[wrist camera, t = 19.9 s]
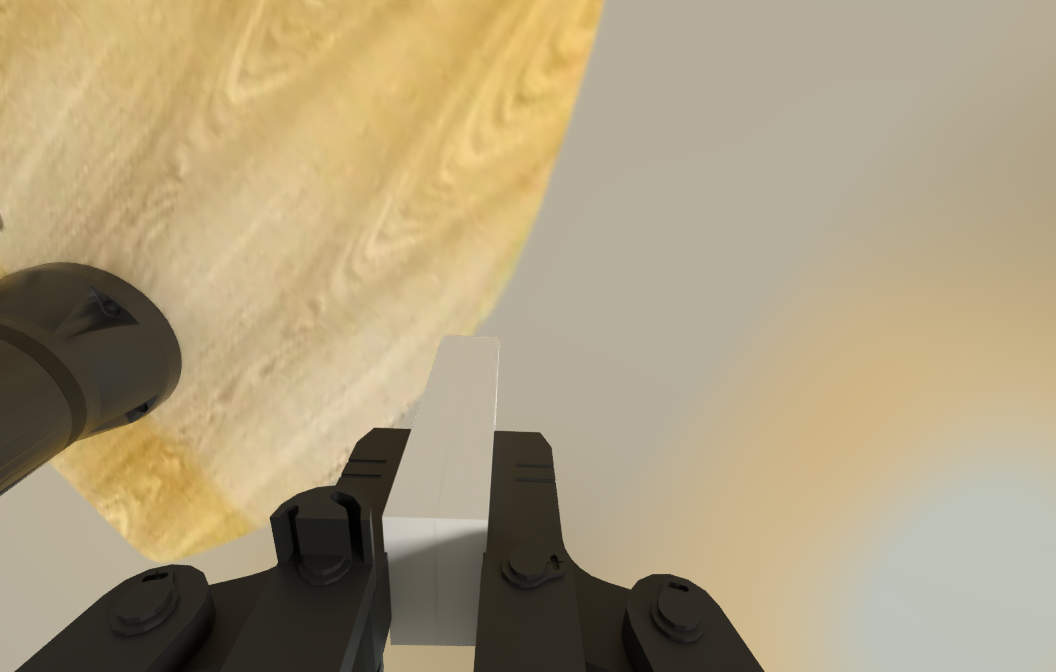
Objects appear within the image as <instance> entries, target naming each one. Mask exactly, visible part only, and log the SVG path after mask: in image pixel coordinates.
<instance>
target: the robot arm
mask: <svg viewBox="0 0 1056 672" xmlns="http://www.w3.org/2000/svg"><path fill="white" fill-rule="evenodd" d="M498 357H499V338H498V337H478V336H457V335H443V337H442V340H441V343H440V346H439V349H438V352H437V355H436V358H435V361H434V364H433V367H432V370H431V373H430V376H429V379H428V382H427V385H426V388H425V391H424V394H423V397H422V400H421V402H420V406H419V408H418V411H417V414H416V418H415V420H414V424H413V426H412V429H394V428H373V429H372V430H371V431H370V432H369V433H367V434H366V435H365V436H364V437H363V438H361V439H360V440H359V441H358V442H357V443H356V445H355V447H354V449H353V451H352V453H351V455H350V457H349V461H348V463H347V464H346V466H345V468H344V470H343V472H342V474H341V477H340V478H339V480H338V482H337V484H336V485H335V486H325V487H316V488H314V489H311V490H308V491H305V492H302V493H299V494H297V495H295V496H294V497H292V498H290V499H289V500H287V501H286V502H284V503H282V504H281V505H280V506H279V508H278V509H277V510H276V511H275V512H274V513H273V514H272V515H271V516H270V521H271V527H272V532H273V537H274V543H275V548H276V553H277V559H278V564H277V566H275V567H273V568H271V569H269V570H266V571H263V572H260V573H257V574H254V575H250V576H246V577H242V578H238V579H233V580H229V581H225V582H220V583H216V584H212V585H208V582H207V580H206V577H205V575H204V573H203V572H201V571H200V570H198V569H196V568H194V567H192V566H188V565H173V564H172V565H167V566H162V567H158V568H153V569H149V570H147V571H145V572H142V573H140V574H138V575H136V576H133V577H131V578H129V579H127V580H125V581H123V582H122V583H120V584H119V585H118V586H116V587H115V588H113V589H112V590H111V591H109V592H108V593H106V594H105V595H103V596H102V597H101V598H100V599H99V600H98V601H96V602H95V603H94V604H93V605H92V606H90V607H89V608H88V609H87V610H86V611H85V612H83V613H82V614H81V615H80V616H79V617H78V618H76V619H75V620H74V621H73V622H72V623H71V624H70V625H69V626H67V627H66V628H65V629H64V630H63V631H61V632H60V633H59V634H58V635H57V636H56V637H54V638H53V639H52V640H51V641H50V642H48V644H46V645H45V646H44V647H43V648H42V649H40V650H39V651H38V652H37V653H36V654H35V655H33V656H32V657H31V658H30V659H29V660H28V661H27V662H25V663H24V664H23V665H22V666H21V667H19V668H18V669H17V670H16V671H15V672H383V668H384V665H383V652H384V648H385V644H386V640H387V636H388V631H389V628H390V638H391V645H440V646H442V645H443V646H445V645H446V646H476V647H475V660H474V672H764V670H763V669H762V667H761V666H760V665H759V663H758V661H757V660H756V659H755V657H754V656H753V654H752V653H751V651H750V650H749V648H748V647H747V645H746V644H745V643H744V641H743V640H742V638H741V637H740V635H739V634H738V633H737V631H736V629H735V628H734V627H733V625H732V624H731V622H730V621H729V619H728V618H727V616H726V615H725V614H724V612H723V611H722V609H721V608H720V606H719V605H718V604H717V603H716V602H715V601H714V600H713V599H712V597H711V596H710V595H709V594H708V593H707V592H706V591H705V590H703V589H702V588H700V587H699V586H697V585H696V584H694V583H692V582H691V581H689V580H687V579H684V578H680V577H677V576H674V575H671V574H652V575H650V576H647V577H645V578H643V579H640V580H638V581H637V583H636V584H635V585H634V586H633V588H632V589H631V590H630V589H627V588H624V587H621V586H618V585H614V584H611V583H608V582H605V581H603V580H600V579H598V578H596V577H593V576H591V575H590V574H588V573H587V572H585V571H584V570H582V569H581V568H579V566H578V565H577V564H576V563H574V561H573V560H572V559H571V558H570V556H569V554H568V553H567V551H566V549H565V547H564V543H563V539H562V532H561V524H560V515H559V508H558V507H559V506H558V498H557V489H556V483H555V473H554V468H553V456H552V448H551V446H550V445H549V444H548V442H547V441H546V440H545V438H544V437H543V436H542V434H541V433H539V432H514V431H513V432H512V431H495V424H496V403H497V381H498V379H497V378H498V359H499V358H498ZM180 374H181V353H180V348H179V344H178V341H177V339H176V336H175V334H174V332H173V330H172V328H171V326H170V324H169V323H168V321H167V319H166V318H165V317H164V315H163V314H162V313H161V311H160V310H159V309H158V308H157V307H156V306H155V305H154V303H152V302H151V301H150V300H149V299H148V298H147V297H146V296H145V295H144V294H143V293H141V292H140V291H139V290H138V289H136V288H135V287H133V286H132V285H131V284H129V283H127V282H126V281H124V280H122V279H120V278H119V277H117V276H115V275H113V274H110V273H108V272H106V271H103V270H100V269H97V268H94V267H91V266H87V265H82V264H76V263H61V262H60V263H48V264H43V265H39V266H36V267H32V268H29V269H26V270H22V271H19V272H16V273H13V274H11V275H8V276H6V277H4V278H3V279H1V280H0V496H1V495H2V494H4V493H5V492H6V491H8V490H9V489H10V488H12V487H13V486H15V485H16V484H17V483H19V482H20V481H22V480H23V479H24V478H26V477H27V476H28V475H30V474H31V473H33V472H34V471H35V470H37V469H38V468H39V467H41V466H42V465H43V464H45V463H46V462H48V461H49V460H50V459H52V458H53V457H55V456H56V455H57V454H58V453H60V452H61V451H63V450H64V449H65V448H67V447H68V446H70V445H71V444H72V443H74V442H76V441H79V440H82V439H85V438H88V437H91V436H94V435H97V434H100V433H103V432H106V431H109V430H112V429H115V428H118V427H121V426H124V425H127V424H130V423H133V422H135V421H137V420H139V419H141V418H143V417H144V416H146V415H147V414H149V413H150V412H151V411H153V410H154V409H155V408H157V407H158V406H159V405H160V404H162V403H163V402H164V401H165V400H166V399H167V398H168V397H169V396H170V395H171V394H172V393H173V391H174V389H175V388H176V386H177V384H178V381H179V378H180Z"/></svg>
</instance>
